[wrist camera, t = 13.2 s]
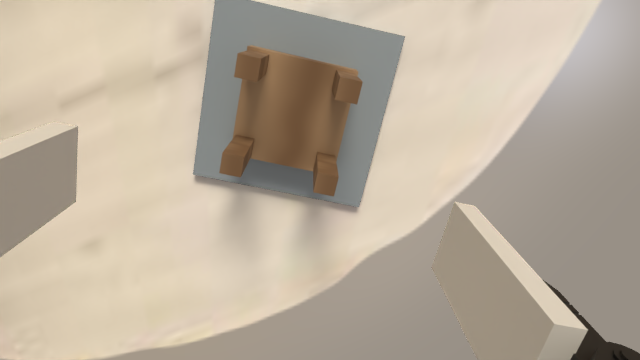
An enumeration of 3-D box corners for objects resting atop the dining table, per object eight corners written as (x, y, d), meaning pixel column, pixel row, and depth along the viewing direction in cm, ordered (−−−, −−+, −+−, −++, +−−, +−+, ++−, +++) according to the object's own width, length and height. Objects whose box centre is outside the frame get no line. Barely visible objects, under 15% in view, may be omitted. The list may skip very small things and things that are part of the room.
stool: (234, 147, 34) (215, 175, 27) (251, 45, 31) (234, 49, 25) (331, 167, 35) (336, 199, 28) (355, 69, 32) (366, 79, 25)
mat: (195, 172, 35) (193, 174, 35) (217, -7, 31) (216, -8, 30) (358, 204, 36) (358, 207, 36) (403, 36, 32) (405, 36, 31)
